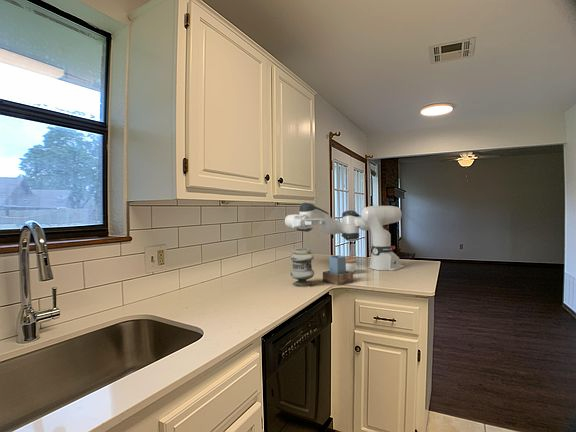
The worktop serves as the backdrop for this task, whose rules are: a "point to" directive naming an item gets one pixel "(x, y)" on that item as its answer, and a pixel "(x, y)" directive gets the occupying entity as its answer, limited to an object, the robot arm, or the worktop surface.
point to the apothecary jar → (302, 266)
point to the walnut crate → (338, 278)
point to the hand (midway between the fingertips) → (318, 222)
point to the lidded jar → (351, 264)
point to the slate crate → (337, 265)
